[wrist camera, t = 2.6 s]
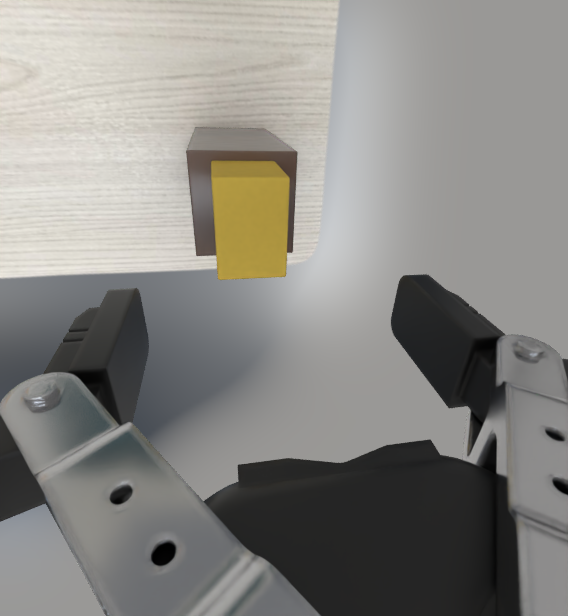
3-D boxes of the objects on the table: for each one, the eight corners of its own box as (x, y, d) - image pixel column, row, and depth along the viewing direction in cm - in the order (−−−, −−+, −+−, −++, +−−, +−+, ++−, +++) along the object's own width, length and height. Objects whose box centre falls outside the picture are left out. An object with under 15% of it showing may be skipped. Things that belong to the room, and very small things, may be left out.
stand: (195, 127, 31) (186, 150, 19) (265, 128, 32) (297, 151, 20) (200, 198, 34) (196, 256, 22) (264, 197, 35) (292, 252, 23)
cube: (210, 160, 20) (211, 177, 16) (274, 160, 20) (290, 177, 16) (216, 247, 22) (218, 280, 18) (273, 246, 23) (286, 277, 19)
